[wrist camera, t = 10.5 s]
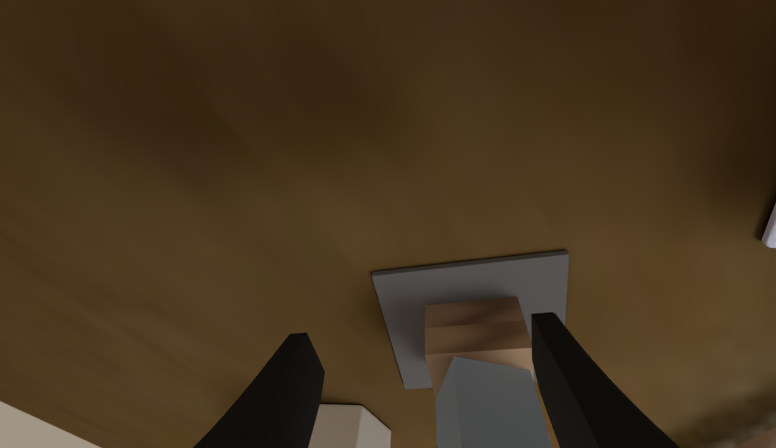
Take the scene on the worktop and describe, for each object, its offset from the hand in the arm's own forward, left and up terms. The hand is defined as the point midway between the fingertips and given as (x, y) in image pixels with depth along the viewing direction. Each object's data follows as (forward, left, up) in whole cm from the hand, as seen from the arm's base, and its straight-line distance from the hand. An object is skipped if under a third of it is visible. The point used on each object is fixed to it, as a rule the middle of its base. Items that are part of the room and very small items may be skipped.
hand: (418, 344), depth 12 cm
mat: (-2, +11, -10) cm, 15 cm away
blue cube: (-2, +11, -6) cm, 13 cm away
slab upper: (-2, +11, -8) cm, 14 cm away
